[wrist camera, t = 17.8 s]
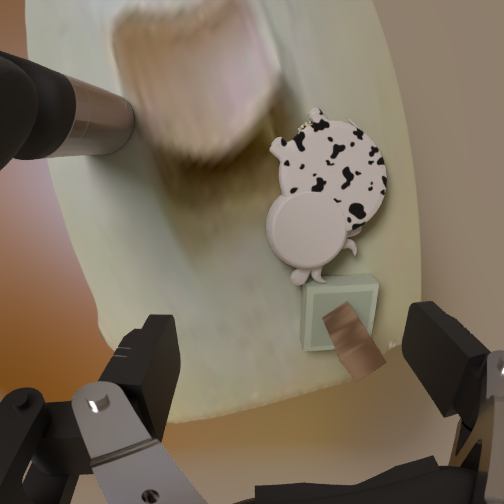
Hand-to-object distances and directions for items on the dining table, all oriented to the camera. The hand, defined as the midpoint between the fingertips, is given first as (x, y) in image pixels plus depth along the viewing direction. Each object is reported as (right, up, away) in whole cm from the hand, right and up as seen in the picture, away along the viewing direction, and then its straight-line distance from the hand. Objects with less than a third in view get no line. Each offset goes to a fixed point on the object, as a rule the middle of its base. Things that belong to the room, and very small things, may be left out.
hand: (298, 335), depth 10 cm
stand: (+12, -6, +40) cm, 42 cm away
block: (+12, -7, +36) cm, 39 cm away
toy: (+8, +11, +35) cm, 38 cm away
